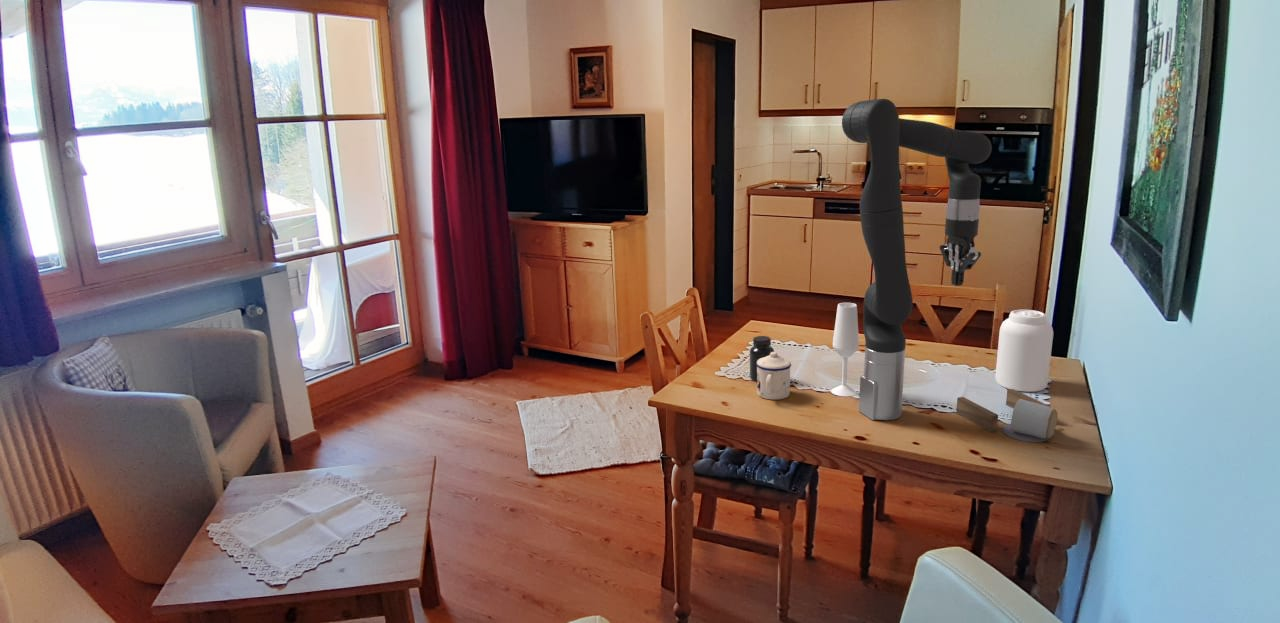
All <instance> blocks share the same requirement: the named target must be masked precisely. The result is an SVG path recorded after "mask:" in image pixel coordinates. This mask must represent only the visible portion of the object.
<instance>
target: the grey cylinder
mask: <svg viewBox="0 0 1280 623" xmlns="http://www.w3.org/2000/svg"><path fill="white" fill-rule="evenodd" d="M1058 414H1059V413H1058V411H1057V410H1056V409H1055V408H1053V407H1051V406H1050V407H1048V406H1044V405H1040V404H1037V403H1034V402H1030V401H1027V400H1023V399H1019V400H1018V401H1017V403H1016V405H1015V407H1014V408H1013V411H1012V415H1011V420H1010V424H1011V430H1012V431H1013V432H1017V433H1022V434H1026V435H1030V436H1035V437H1039V438H1045V439H1048V438H1050V439H1051V438H1052V437H1053V435H1054V433H1055V430H1056V426H1057V423H1058V417H1059V416H1058Z"/></svg>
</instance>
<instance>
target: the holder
mask: <svg viewBox="0 0 1280 623" xmlns="http://www.w3.org/2000/svg"><path fill="white" fill-rule="evenodd" d="M1005 399H1006V400H1005V405H1006V406H1007V407H1009V408H1011V409H1014V407H1015V405H1016V403H1017V401H1018V400H1019V399H1023V400H1027V401H1030V402H1034V403H1037V404H1040V405H1044V406H1048V407H1051V405H1049V404H1047V403H1044V402H1041V401H1040V400H1038V399H1035V398H1033V397H1032V396H1029V395H1027V394H1025V393H1022V391H1016V390H1014V389H1007V390H1006V398H1005ZM955 410H956V411H955V412H956V414H958V415H959V416H961V417H963V418H965V419H966V420H968V421H970V422H972V423H974V424H975V425H977V426H979V427H980V428H983V429H984V430H987V431H988V432H989V433H993V432H994V433H995V432H997V431H998V423H999V422H998V420H999V414H997V413H996V412H993V411H991V410H989V409H987V408H985V407H983V406H981V405H980V404H978V403H976V402H974V401H972V400H970V399H968V398H966V397H965V396H959V397H957V398H956V409H955Z"/></svg>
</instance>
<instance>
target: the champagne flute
mask: <svg viewBox="0 0 1280 623" xmlns="http://www.w3.org/2000/svg"><path fill="white" fill-rule="evenodd" d="M857 306H858V305H857V304H856V303H854V302H853V303H852V302H840V303H838V304H837V308H836V315H835V316H836V317H835V321H834V322H835V323H834V329H833V330H834V331H833V339H832V349H834V351H835V352H836V353H837V354H838V355H839V356H840V357H842V374H841V375H842V376H841V384H840V385H837V386H836V387H834V388H832V389H831V390H830V392H831V393H832V394H833V395H835V396H838V397H853V396H855V395H857V394H858V392H857V390H856V389H855V388H852V387H851V386H849V385H847V379H848V358H849V357H851V356H853V355H854V354H855V353H856V352H857V351H858V349H859V347H860V340H859V338H860V337H859V324H858V323H859V321H858V307H857Z"/></svg>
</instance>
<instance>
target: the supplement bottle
mask: <svg viewBox="0 0 1280 623" xmlns="http://www.w3.org/2000/svg"><path fill="white" fill-rule="evenodd" d="M771 339H772V338H771V337H770V336H766V335H758V336H755V337H753V339H752V340H753V341H752V347H750V349H749V378H750V379H751V381H753V382H756V383H757V365H756V363H757V361H758V360H759V359H760V358H763V357H766V356H769V355H770V353H771V352H775V349H774V348H773V347H772V346H771V345H772V343H771V342H772V341H771Z"/></svg>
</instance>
